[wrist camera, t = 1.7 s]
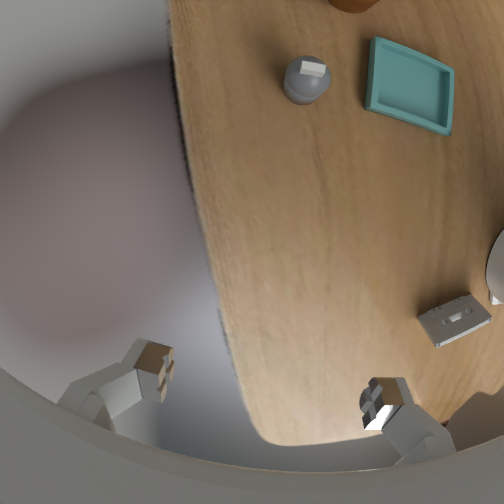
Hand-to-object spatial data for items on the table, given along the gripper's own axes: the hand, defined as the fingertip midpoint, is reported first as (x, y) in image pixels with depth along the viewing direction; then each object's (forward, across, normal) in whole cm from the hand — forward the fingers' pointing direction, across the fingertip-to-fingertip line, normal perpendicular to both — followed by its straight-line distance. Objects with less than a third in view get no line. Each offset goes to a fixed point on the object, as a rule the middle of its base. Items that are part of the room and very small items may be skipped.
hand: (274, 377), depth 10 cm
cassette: (+27, +32, -10) cm, 43 cm away
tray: (+27, +14, +20) cm, 36 cm away
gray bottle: (+26, 0, +16) cm, 31 cm away
